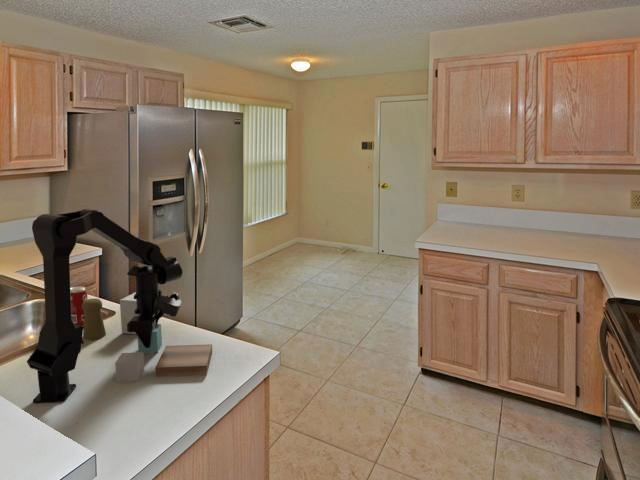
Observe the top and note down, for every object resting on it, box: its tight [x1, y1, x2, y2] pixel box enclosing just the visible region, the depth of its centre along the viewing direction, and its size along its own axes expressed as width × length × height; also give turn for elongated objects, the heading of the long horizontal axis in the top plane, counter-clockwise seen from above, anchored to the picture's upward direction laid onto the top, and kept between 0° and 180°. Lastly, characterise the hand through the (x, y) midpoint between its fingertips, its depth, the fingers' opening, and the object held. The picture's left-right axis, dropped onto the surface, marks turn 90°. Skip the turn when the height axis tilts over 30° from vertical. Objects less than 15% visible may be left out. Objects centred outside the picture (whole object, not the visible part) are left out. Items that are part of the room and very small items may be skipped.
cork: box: [82, 298, 107, 341], centre depth 126 cm, size 6×6×11 cm
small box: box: [119, 291, 140, 335], centre depth 132 cm, size 8×6×10 cm
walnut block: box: [154, 343, 213, 378], centre depth 112 cm, size 12×12×3 cm
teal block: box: [137, 323, 163, 354], centre depth 120 cm, size 5×5×6 cm
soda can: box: [70, 285, 89, 327], centre depth 133 cm, size 5×5×12 cm
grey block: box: [115, 351, 145, 383], centre depth 105 cm, size 5×5×5 cm
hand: (150, 343), depth 120 cm, fingers closed on teal block, 5 cm apart
